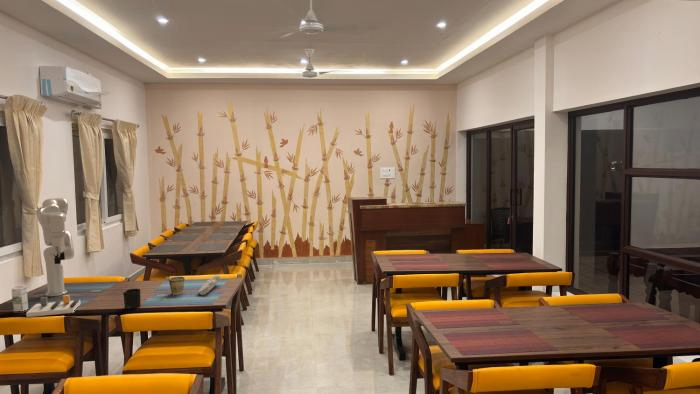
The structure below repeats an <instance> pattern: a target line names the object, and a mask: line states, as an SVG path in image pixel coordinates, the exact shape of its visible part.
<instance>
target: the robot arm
mask: <svg viewBox="0 0 700 394" xmlns="http://www.w3.org/2000/svg"><path fill="white" fill-rule="evenodd" d="M68 210H69V202H68V201H67V199H66V198H64V197H59V198H58V197H57V198H48V199H45V200H44V201H43V202H42V206H40V207H38V208H37V209H36V211H35V212H36V214H35V215H36V218H37V222H38V223H39V224H40V226H41V228H42V234H43V241H44V244H45V245H46V246H47V247H46V248H45V249H44V250H43V257H44V262H45V271H46V283H47V284H46V285H47V292H45V294H44V295H45V297H57V296H62V295H63V296H64V295H67V293H68V290H67V289H65V277H64V268H63V265H62V264H61V263H62V261H65V260H67V261H68V260H71V259H73V258H74V256H75V248H74V243H73V237H72V233H71V232H70V231H68V230H66V227H65V223H66V220H67V215H68Z"/></svg>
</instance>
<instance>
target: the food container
mask: <svg viewBox="0 0 700 394" xmlns="http://www.w3.org/2000/svg"><path fill="white" fill-rule="evenodd" d="M220 279H221V276H220V274H216V275H214V276H213V277H211V278H210V279H206V280H205V282H204V284H202V285H201V287H200V288H199V290H198V291H197V292H196V293H198V294H200V295H201V296H205V295H207V294H208V293H209V292H210V291H211V290H212V289H213V288H215V287H216V285H217V284H218V282H219V280H220Z"/></svg>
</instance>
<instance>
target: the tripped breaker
mask: <svg viewBox="0 0 700 394" xmlns="http://www.w3.org/2000/svg"><path fill="white" fill-rule="evenodd" d="M62 298H63V299H62V302H64V304H66V303H70V301H71V295H70V294H63V296H62Z"/></svg>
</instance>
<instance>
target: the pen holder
mask: <svg viewBox="0 0 700 394" xmlns="http://www.w3.org/2000/svg"><path fill="white" fill-rule="evenodd" d="M122 292H123V302H124V303H123V304H124V308H125V309H126V310H133V309H134V308H135V309H138V308H140V307H141V305H142V304H141V299H142V298H141V289H140V288H129V289H127V290H125V291H122ZM137 307H138V308H137Z"/></svg>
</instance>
